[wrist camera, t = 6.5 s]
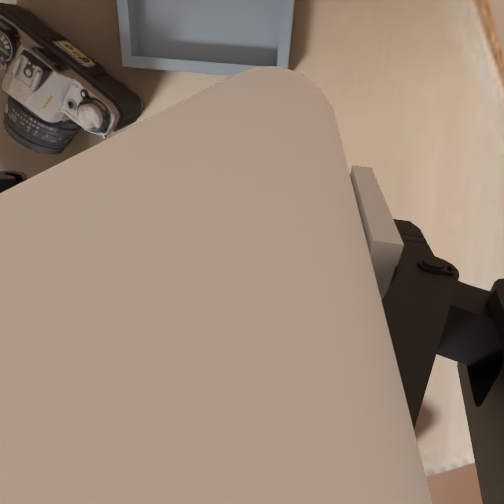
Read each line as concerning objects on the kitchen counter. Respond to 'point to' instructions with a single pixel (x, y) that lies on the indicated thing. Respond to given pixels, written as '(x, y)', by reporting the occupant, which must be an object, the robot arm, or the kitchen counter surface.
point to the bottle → (201, 316)
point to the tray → (205, 34)
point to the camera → (56, 86)
